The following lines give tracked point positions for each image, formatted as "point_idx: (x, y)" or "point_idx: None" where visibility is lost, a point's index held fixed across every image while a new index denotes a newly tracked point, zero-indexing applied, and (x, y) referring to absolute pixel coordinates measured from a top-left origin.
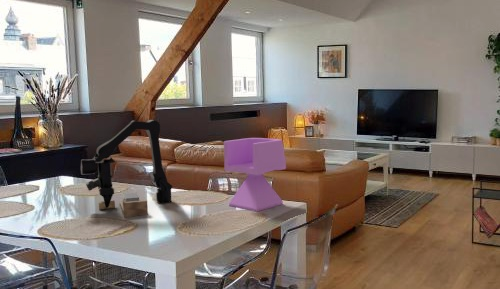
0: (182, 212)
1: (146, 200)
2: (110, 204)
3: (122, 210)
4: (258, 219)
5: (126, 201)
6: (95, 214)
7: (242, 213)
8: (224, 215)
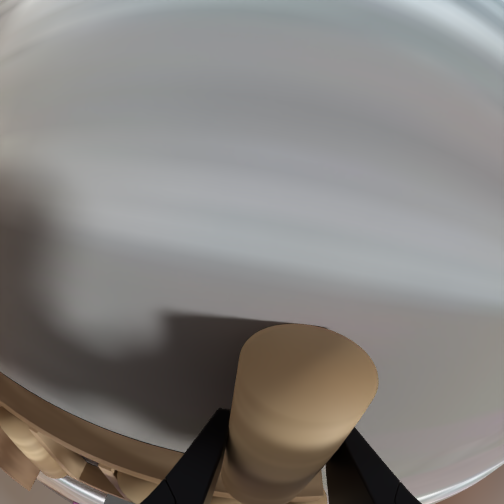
0: (68, 480)
1: (20, 484)
2: (224, 461)
3: (45, 418)
4: None
5: (105, 502)
6: (35, 221)
7: (60, 491)
8: (45, 478)
